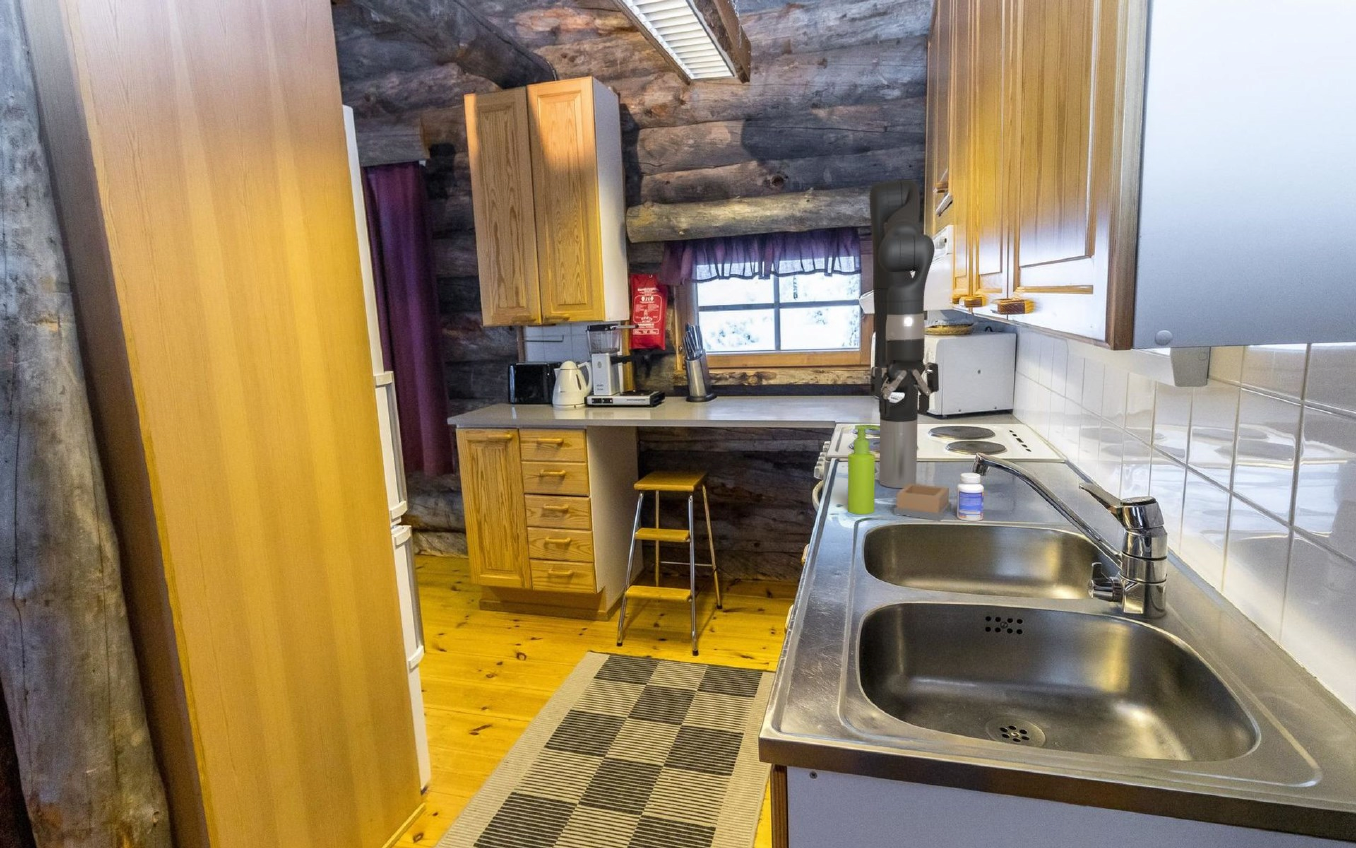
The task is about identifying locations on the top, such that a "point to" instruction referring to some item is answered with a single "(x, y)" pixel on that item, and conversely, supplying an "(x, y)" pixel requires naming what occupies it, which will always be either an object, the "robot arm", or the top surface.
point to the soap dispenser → (861, 474)
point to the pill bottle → (970, 498)
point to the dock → (923, 501)
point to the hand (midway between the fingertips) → (904, 414)
